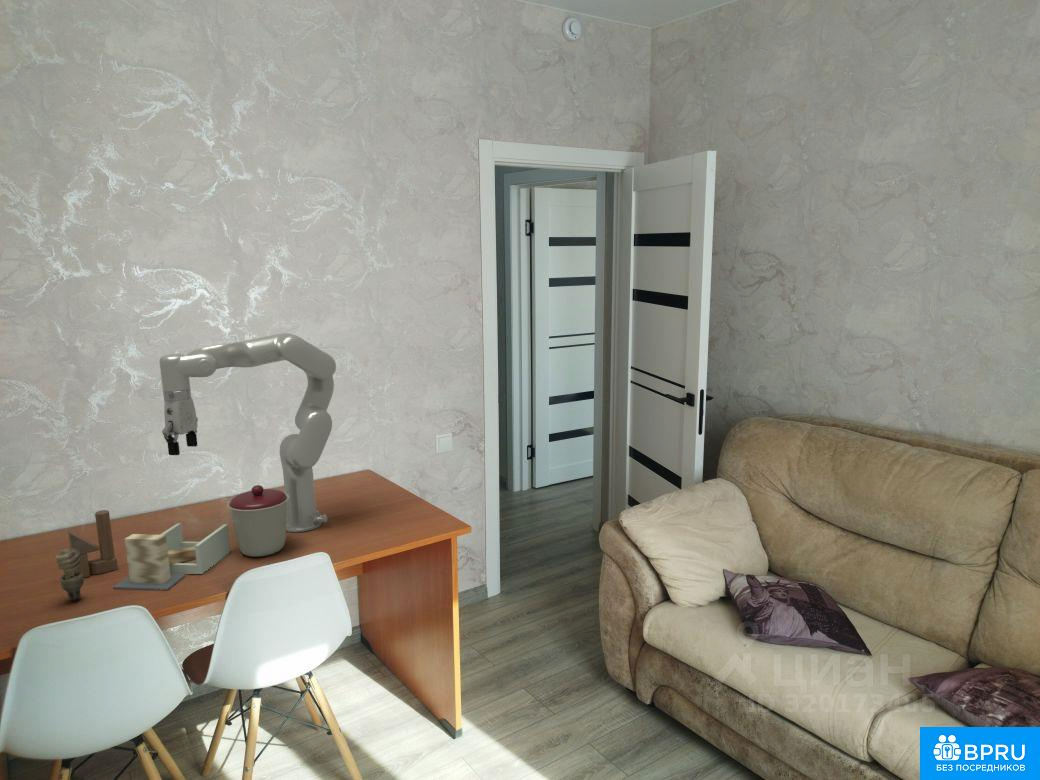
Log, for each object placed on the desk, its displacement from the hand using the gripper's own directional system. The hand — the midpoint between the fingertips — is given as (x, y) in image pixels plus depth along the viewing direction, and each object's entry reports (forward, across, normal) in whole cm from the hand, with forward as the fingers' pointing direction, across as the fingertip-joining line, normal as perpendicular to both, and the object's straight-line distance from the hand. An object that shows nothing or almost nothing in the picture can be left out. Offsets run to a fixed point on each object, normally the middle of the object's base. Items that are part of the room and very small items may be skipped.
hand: (183, 450), depth 223 cm
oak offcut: (+30, -14, -4) cm, 33 cm away
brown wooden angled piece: (+32, -18, +20) cm, 42 cm away
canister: (+32, +1, -22) cm, 39 cm away
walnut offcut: (+33, -14, -4) cm, 36 cm away
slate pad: (+32, -23, 0) cm, 40 cm away
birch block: (+32, -23, 0) cm, 39 cm away
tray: (+32, -8, -4) cm, 33 cm away
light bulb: (+32, -35, +14) cm, 50 cm away
